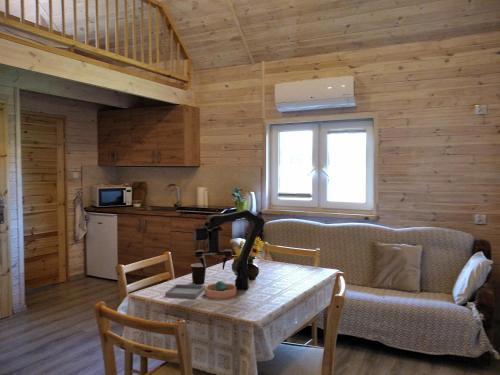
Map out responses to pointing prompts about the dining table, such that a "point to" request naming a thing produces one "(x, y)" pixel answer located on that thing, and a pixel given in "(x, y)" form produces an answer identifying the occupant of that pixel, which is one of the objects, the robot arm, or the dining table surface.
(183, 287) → the tray
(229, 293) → the bowl
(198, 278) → the coffee mug
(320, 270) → the dining table surface
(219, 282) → the ball
